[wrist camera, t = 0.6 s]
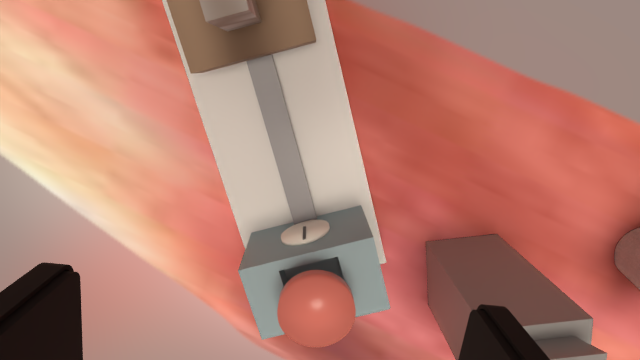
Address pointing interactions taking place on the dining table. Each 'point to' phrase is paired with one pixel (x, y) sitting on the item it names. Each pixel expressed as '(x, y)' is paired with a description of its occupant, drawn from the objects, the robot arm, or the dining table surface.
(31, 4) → the dining table surface
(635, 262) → the house plant
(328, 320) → the button
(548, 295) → the perfume bottle
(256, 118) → the rail bed
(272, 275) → the end cabinet
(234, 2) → the carriage
